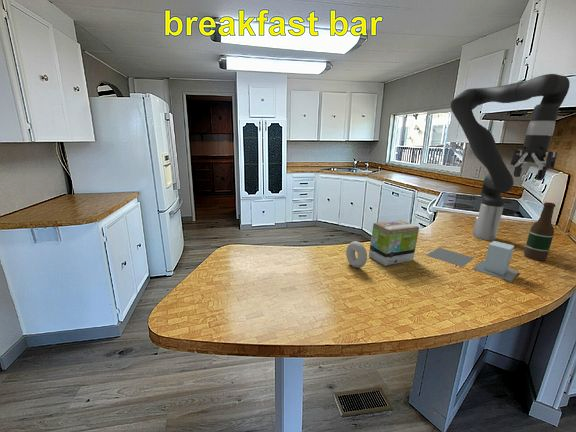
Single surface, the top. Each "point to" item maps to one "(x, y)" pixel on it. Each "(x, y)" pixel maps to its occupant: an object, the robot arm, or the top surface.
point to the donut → (361, 254)
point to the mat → (450, 257)
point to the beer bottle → (540, 235)
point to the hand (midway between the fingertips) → (527, 178)
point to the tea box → (393, 242)
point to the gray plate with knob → (507, 276)
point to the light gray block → (498, 257)
